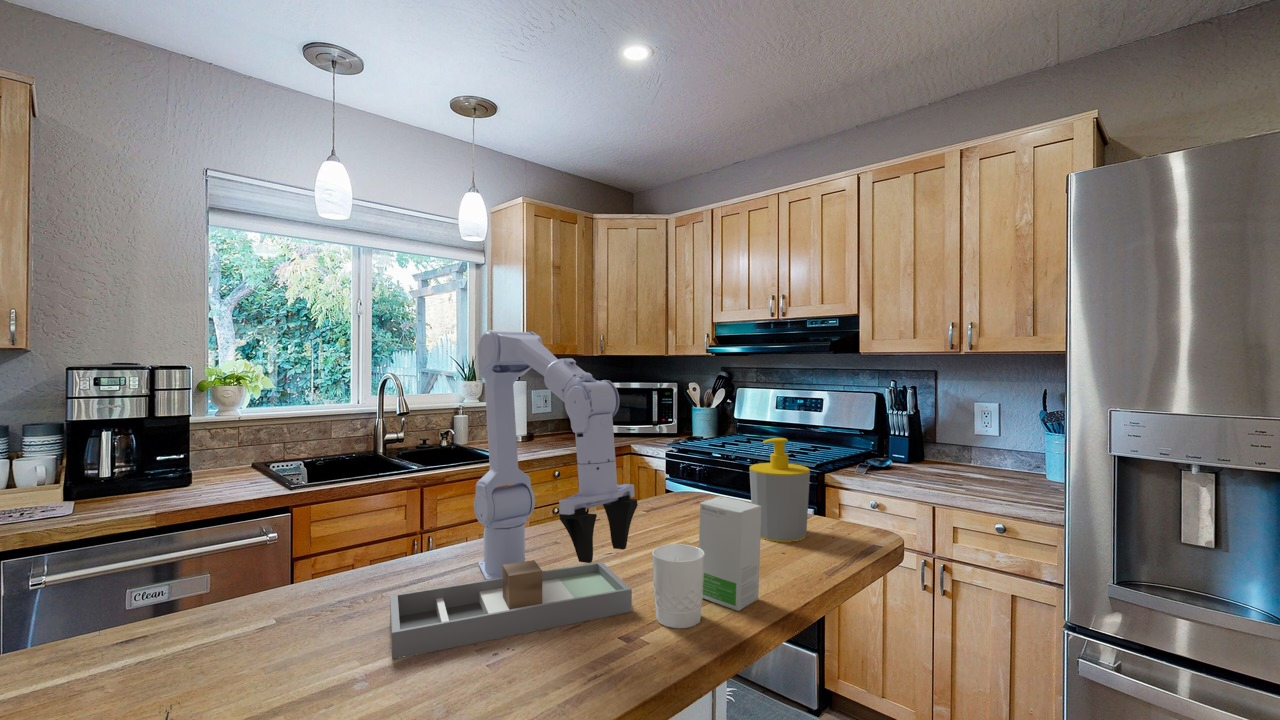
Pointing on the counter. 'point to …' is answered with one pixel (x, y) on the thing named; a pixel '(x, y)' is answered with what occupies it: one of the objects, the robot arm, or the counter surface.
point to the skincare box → (730, 551)
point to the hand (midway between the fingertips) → (603, 555)
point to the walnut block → (522, 584)
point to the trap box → (502, 609)
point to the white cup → (678, 584)
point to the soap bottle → (781, 495)
